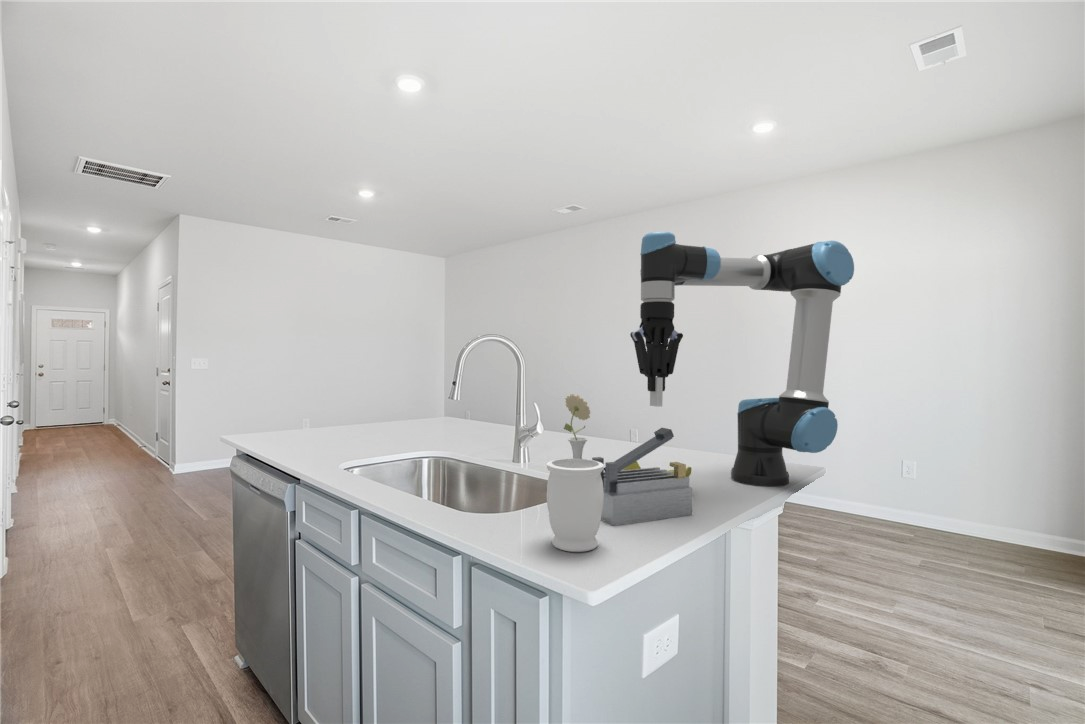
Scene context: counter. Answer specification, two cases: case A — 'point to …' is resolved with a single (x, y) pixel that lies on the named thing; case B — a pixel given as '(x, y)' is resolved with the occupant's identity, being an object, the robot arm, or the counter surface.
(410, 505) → the counter surface
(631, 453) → the dark grey flat bar
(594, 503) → the jar
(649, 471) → the heatsink block
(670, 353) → the robot arm
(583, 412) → the flower in vase
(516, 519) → the counter surface
